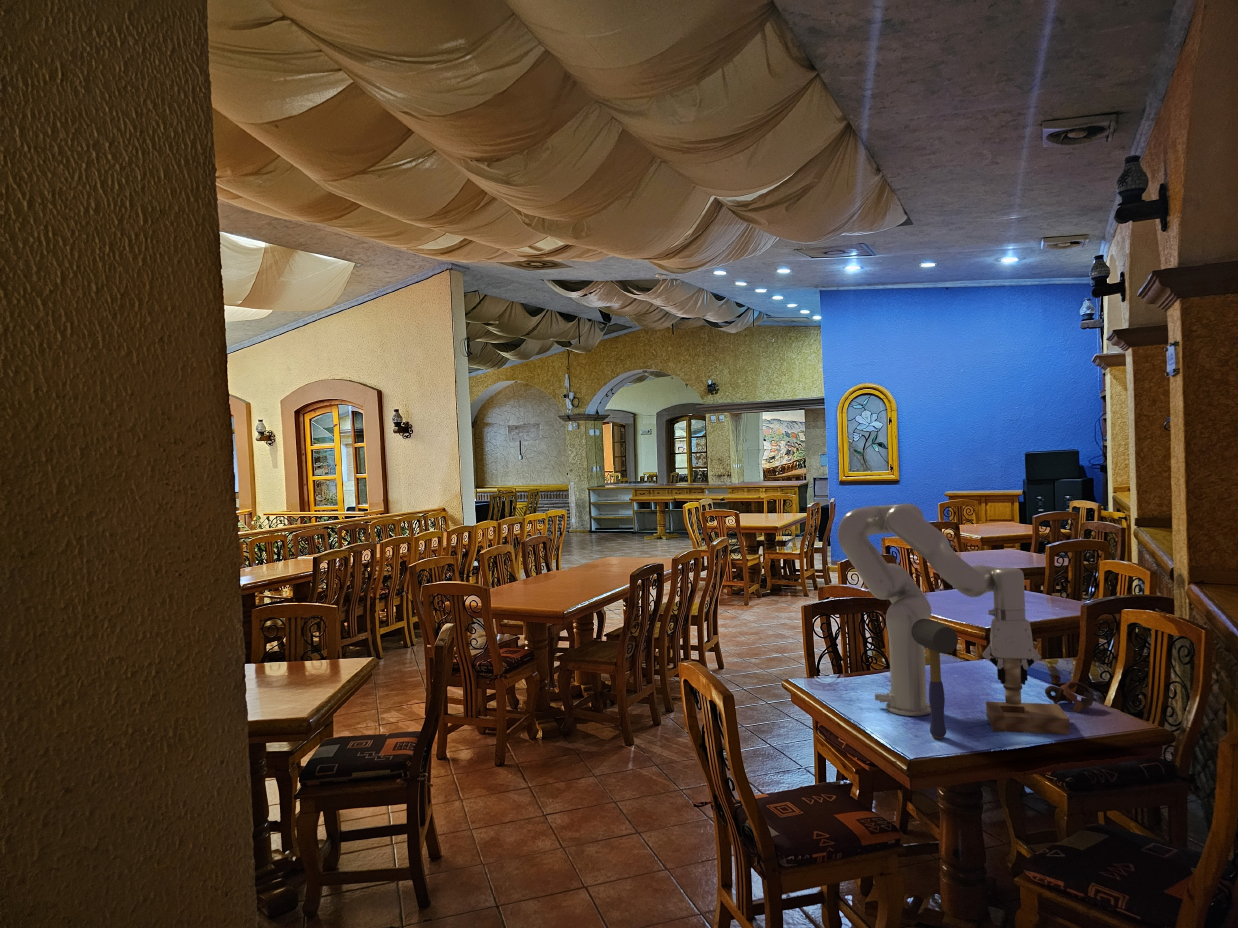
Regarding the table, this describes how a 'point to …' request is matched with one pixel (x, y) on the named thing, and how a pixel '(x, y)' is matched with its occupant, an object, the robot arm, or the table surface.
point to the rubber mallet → (935, 666)
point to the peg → (1012, 681)
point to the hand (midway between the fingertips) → (1012, 682)
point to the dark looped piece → (1070, 695)
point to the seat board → (1027, 718)
